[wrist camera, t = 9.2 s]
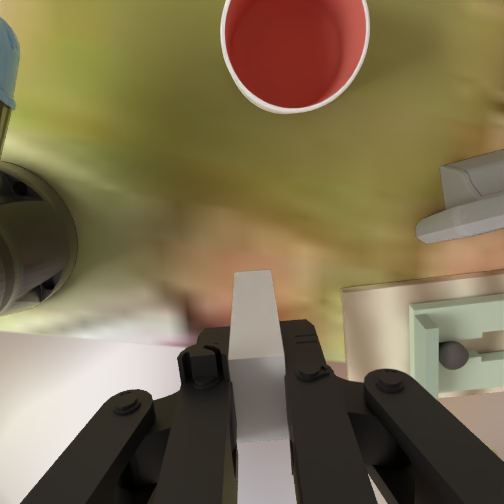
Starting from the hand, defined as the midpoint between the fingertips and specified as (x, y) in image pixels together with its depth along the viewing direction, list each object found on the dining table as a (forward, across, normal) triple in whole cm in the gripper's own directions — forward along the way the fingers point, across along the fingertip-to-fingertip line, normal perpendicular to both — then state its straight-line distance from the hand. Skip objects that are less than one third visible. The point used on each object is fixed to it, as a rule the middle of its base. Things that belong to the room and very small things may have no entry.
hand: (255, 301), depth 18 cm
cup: (+25, +4, +12) cm, 28 cm away
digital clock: (+25, +23, -2) cm, 34 cm away
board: (+24, +23, -17) cm, 38 cm away
